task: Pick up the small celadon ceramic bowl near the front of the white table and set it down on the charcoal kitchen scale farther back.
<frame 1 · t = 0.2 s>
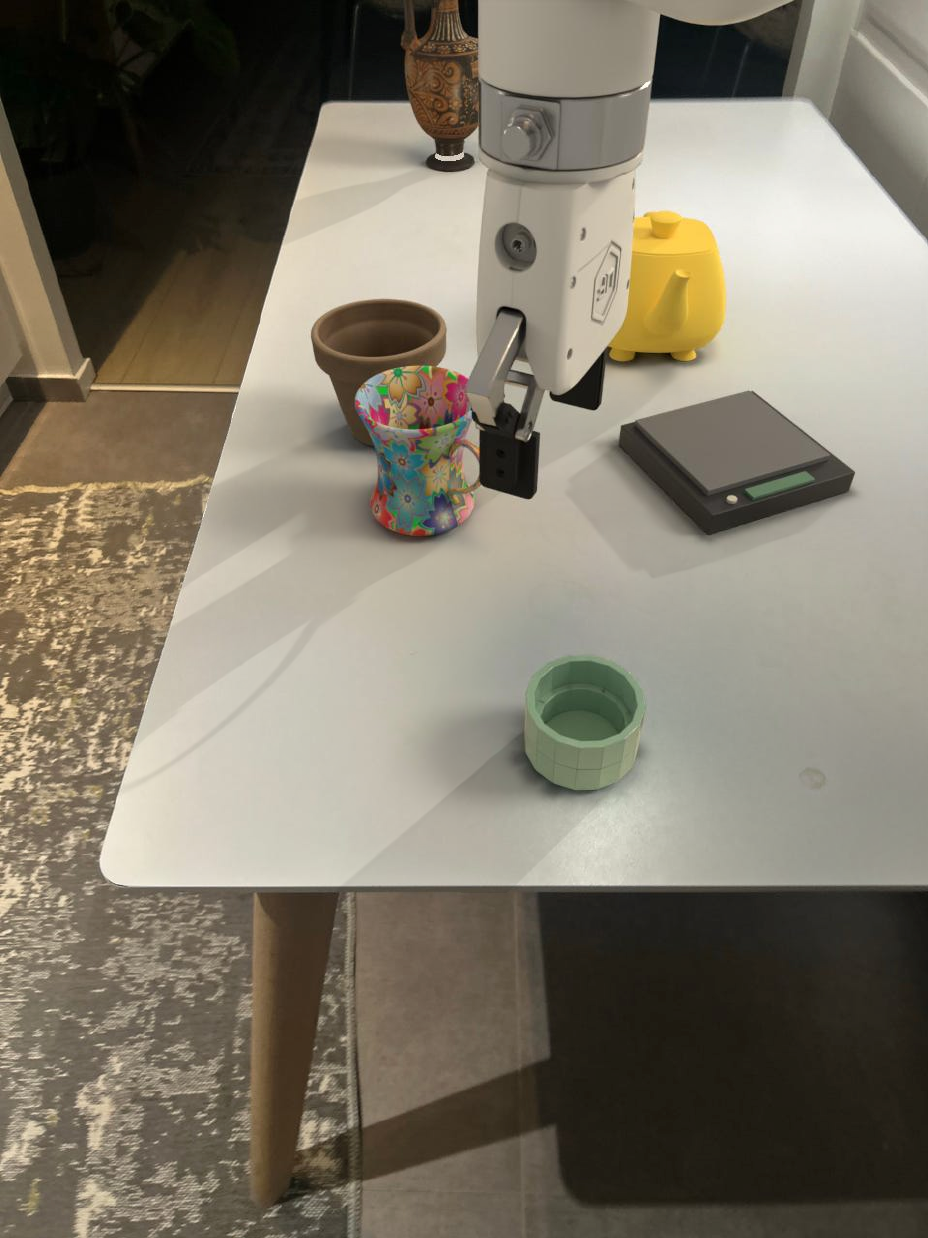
hand: (543, 444, 53), 17 cm above the table, tool pointing down, fingers open, 9 cm apart
scale: (729, 467, 80), on the table
flower pot: (386, 429, 85), on the table
vase: (446, 163, 134), on the table
bowl: (579, 748, 58), on the table
teapot: (650, 348, 95), on the table
mug: (434, 519, 75), on the table
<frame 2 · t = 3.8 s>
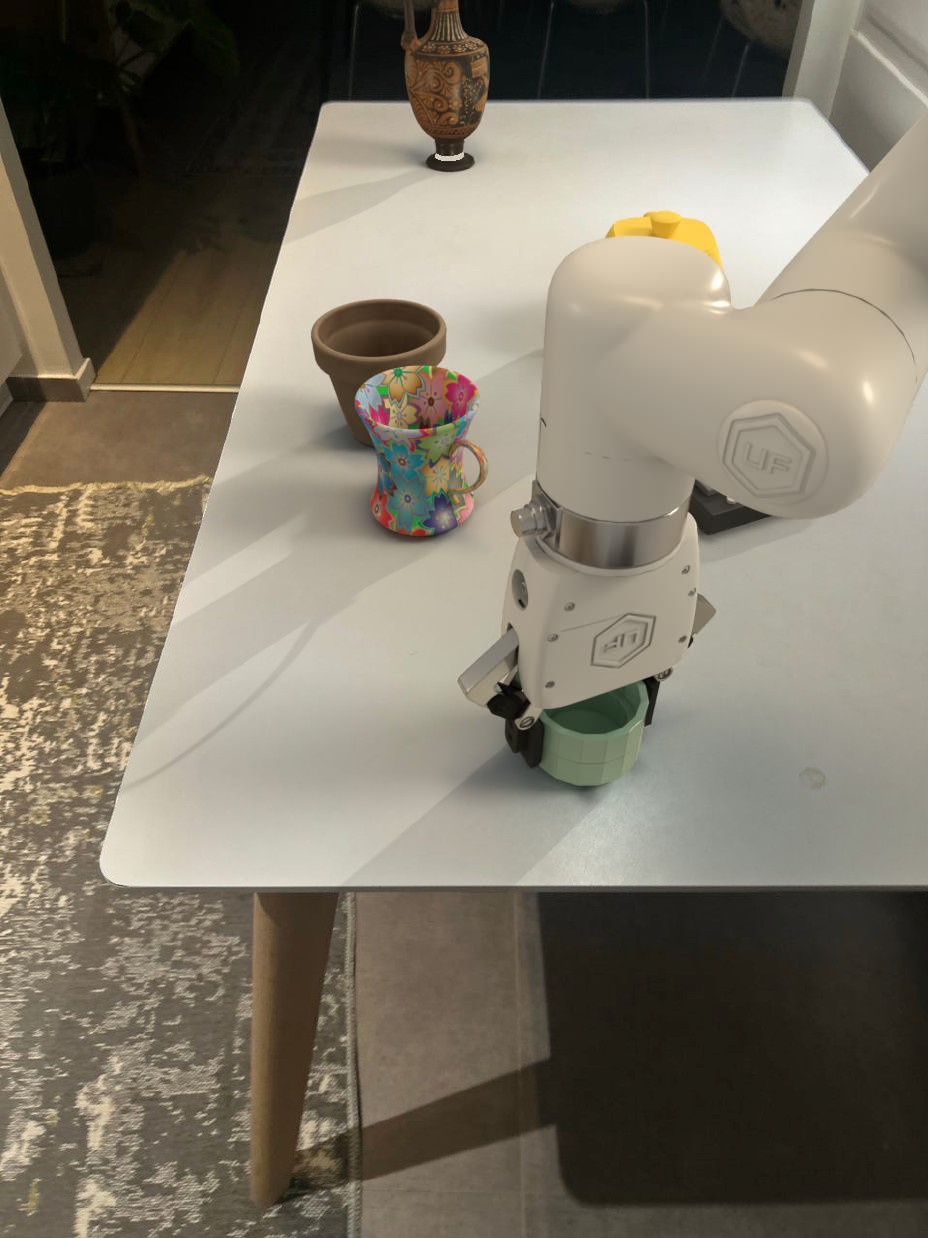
hand: (579, 728, 58), 1 cm above the table, tool pointing down, fingers closed on bowl, 7 cm apart
bowl: (581, 745, 58), on the table, touching gripper
everything else where it was.
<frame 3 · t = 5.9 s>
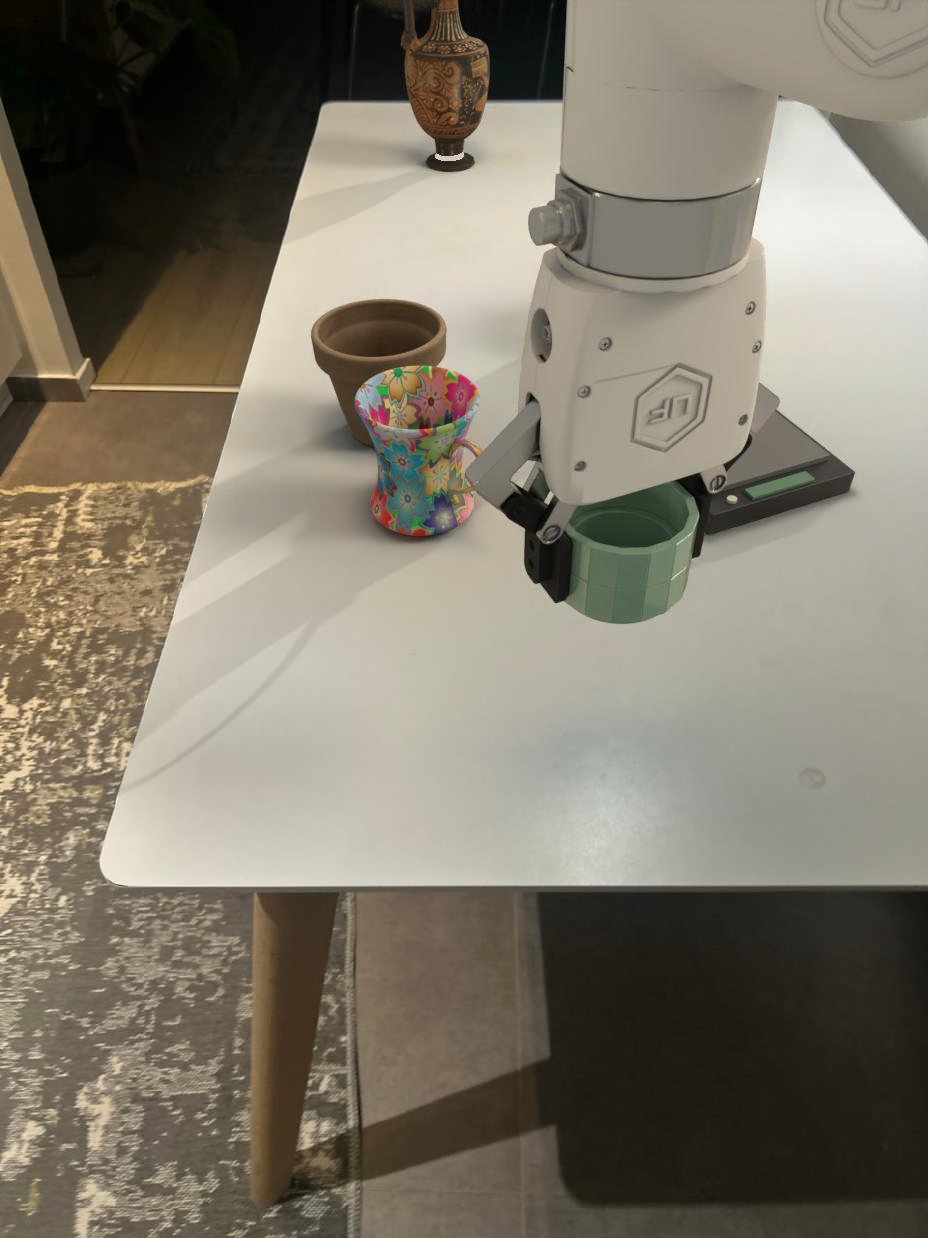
hand: (614, 562, 48), 15 cm above the table, tool pointing down, fingers closed on bowl, 7 cm apart
bowl: (616, 584, 48), point 14 cm above the table, touching gripper
everything else where it was.
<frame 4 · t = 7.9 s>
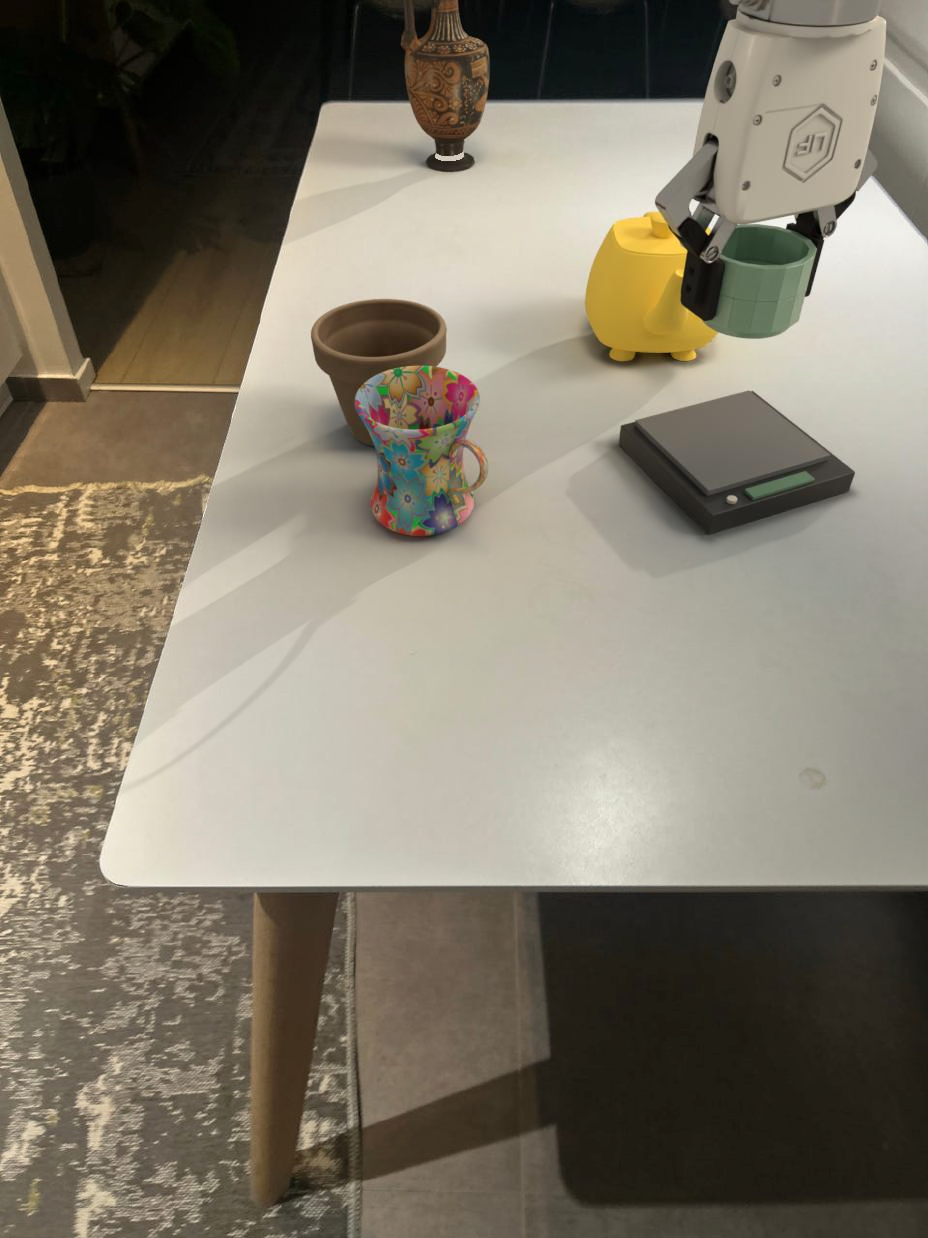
hand: (744, 298, 63), 18 cm above the table, tool pointing down, fingers closed on bowl, 7 cm apart
bowl: (745, 317, 63), point 17 cm above the table, touching gripper
everything else where it was.
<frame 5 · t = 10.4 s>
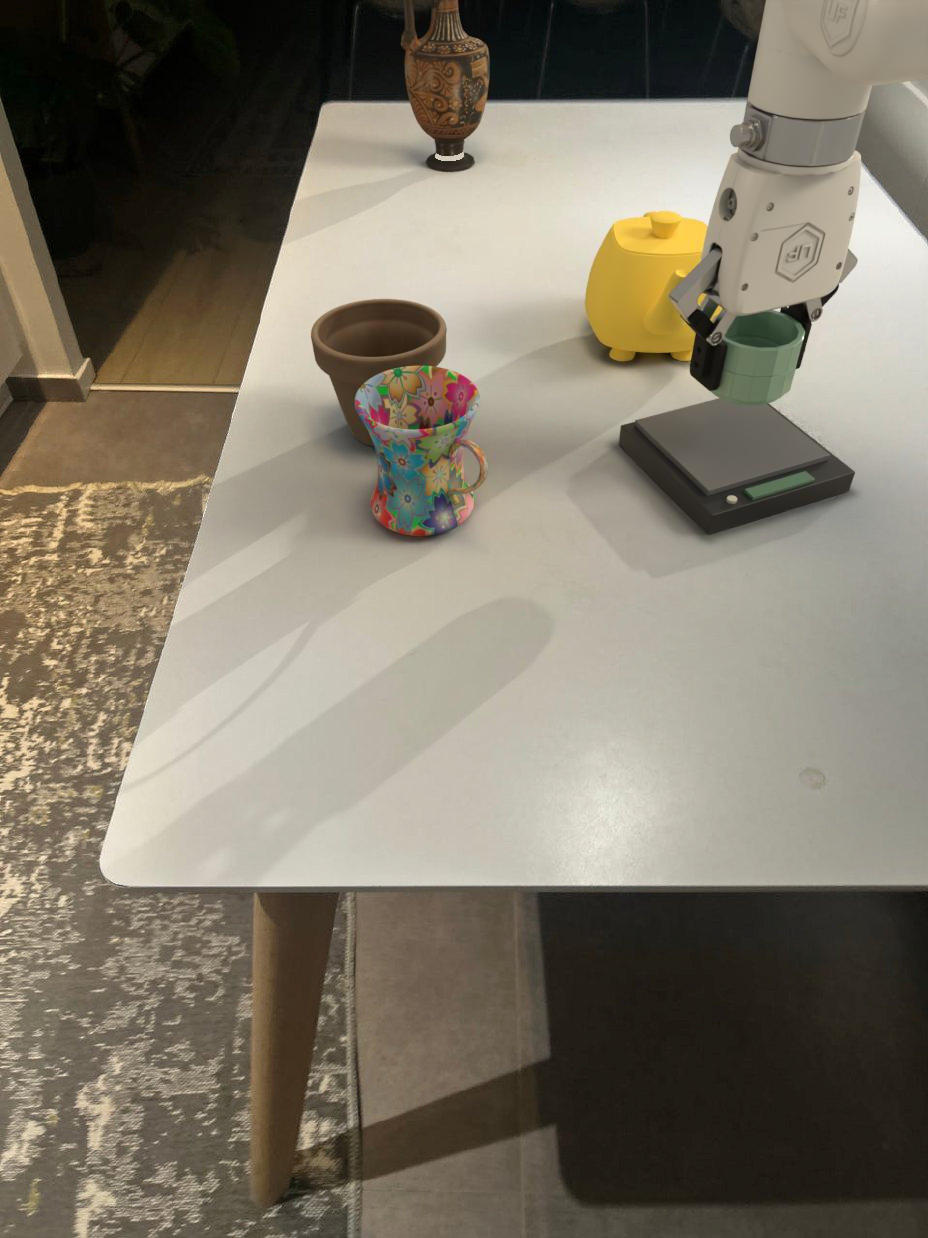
hand: (744, 370, 74), 9 cm above the table, tool pointing down, fingers closed on bowl, 7 cm apart
bowl: (744, 385, 74), point 8 cm above the table, touching gripper
everything else where it was.
when the fingers open (4 cm above the table, at t = 12.2 s): bowl stays where it is, resting on scale.
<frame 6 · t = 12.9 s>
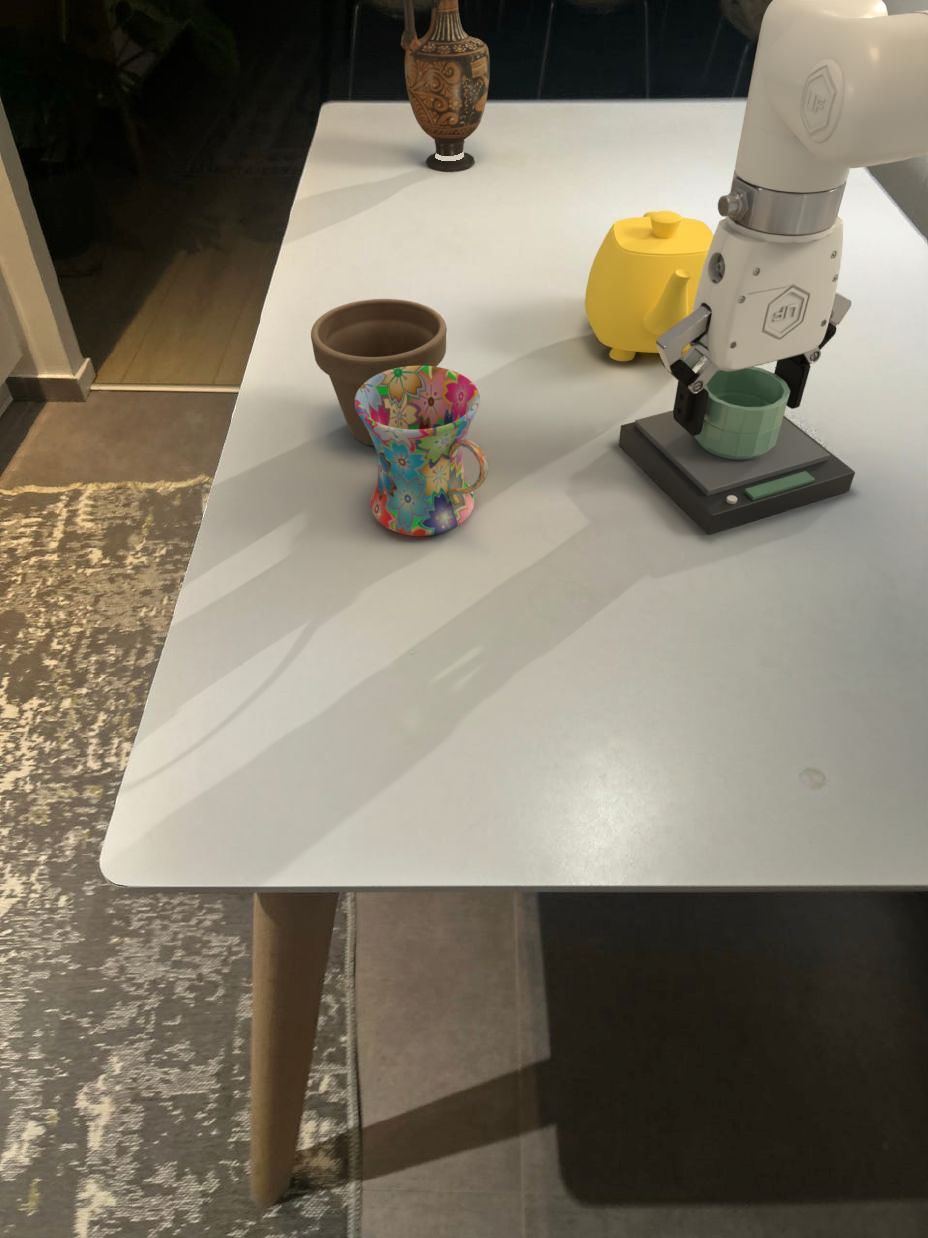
hand: (736, 413, 77), 5 cm above the table, tool pointing down, fingers open, 9 cm apart
bowl: (732, 438, 78), point 3 cm above the table, touching scale
everything else where it was.
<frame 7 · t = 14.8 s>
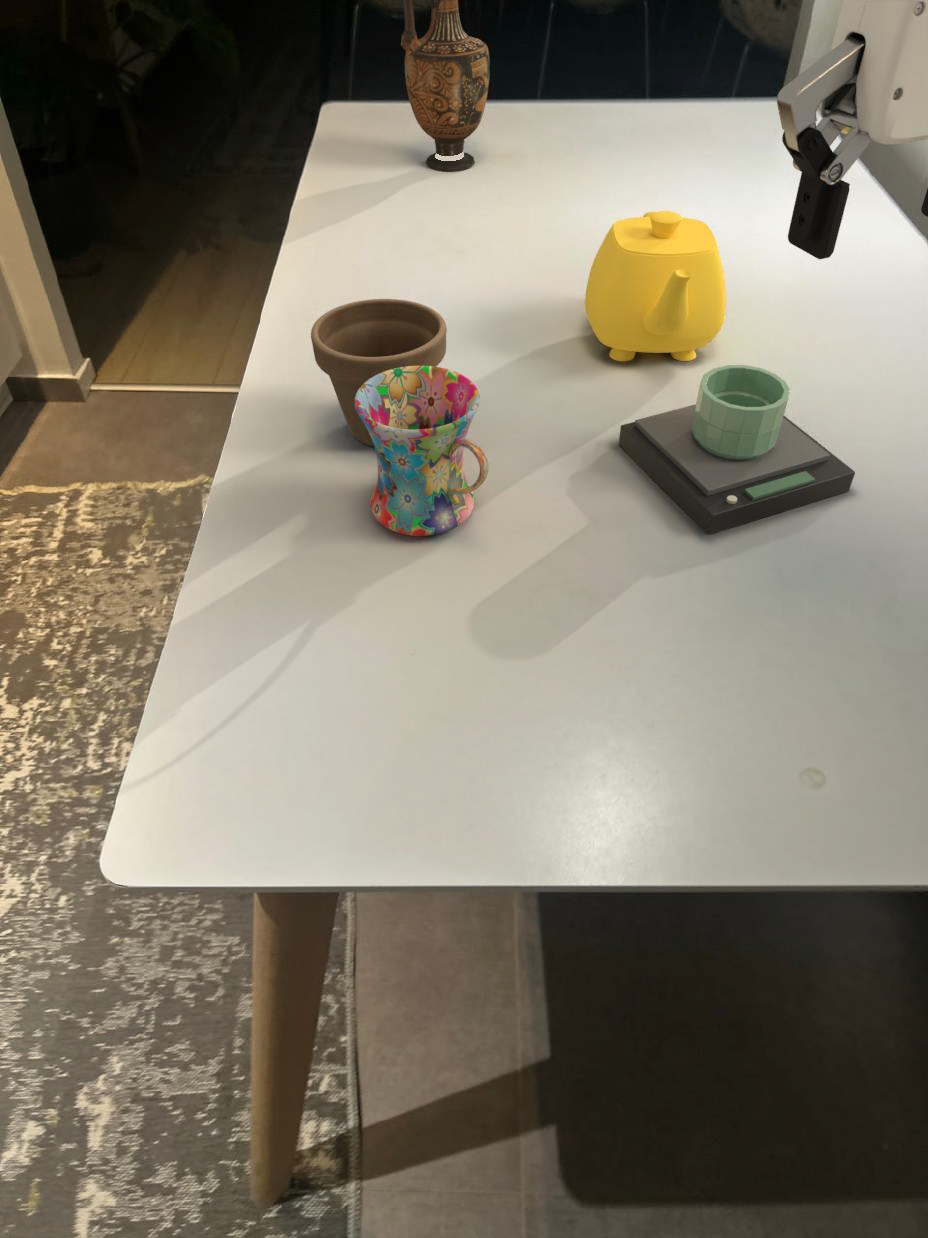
hand: (877, 235, 53), 25 cm above the table, tool pointing down, fingers open, 9 cm apart
nothing on the table moved.
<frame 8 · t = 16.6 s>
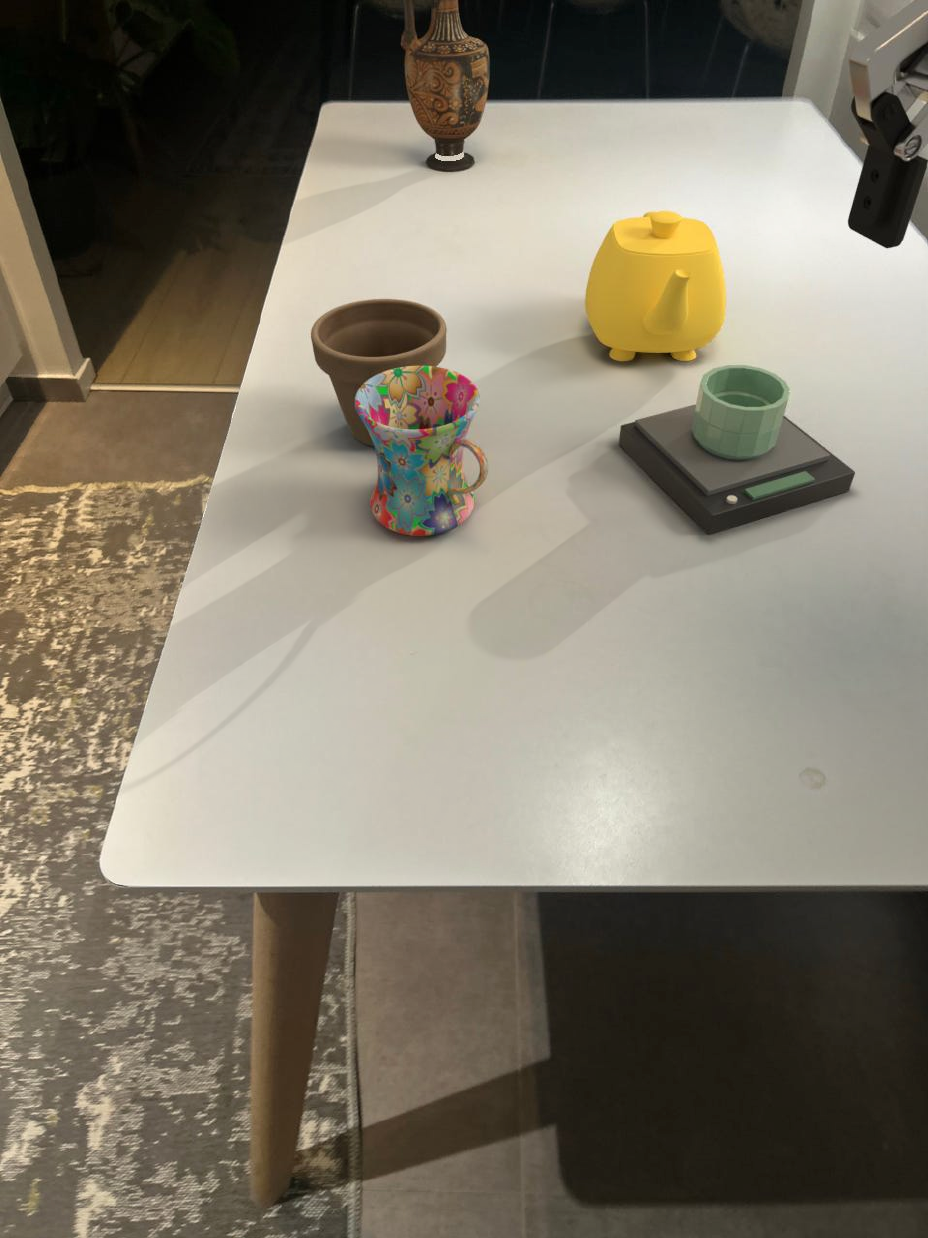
nothing on the table moved.
at the end: bowl inside the target area on the scale (0.4 cm from its centre), point 2.6 cm above the scale's base; bowl tilted 0°; the gripper is holding nothing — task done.
